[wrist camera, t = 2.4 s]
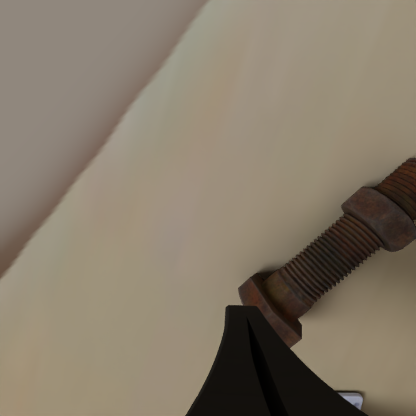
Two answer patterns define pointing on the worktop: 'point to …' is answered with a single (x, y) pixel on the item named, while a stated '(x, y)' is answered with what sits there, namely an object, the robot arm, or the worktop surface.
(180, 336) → the worktop surface
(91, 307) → the worktop surface
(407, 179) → the bolt
